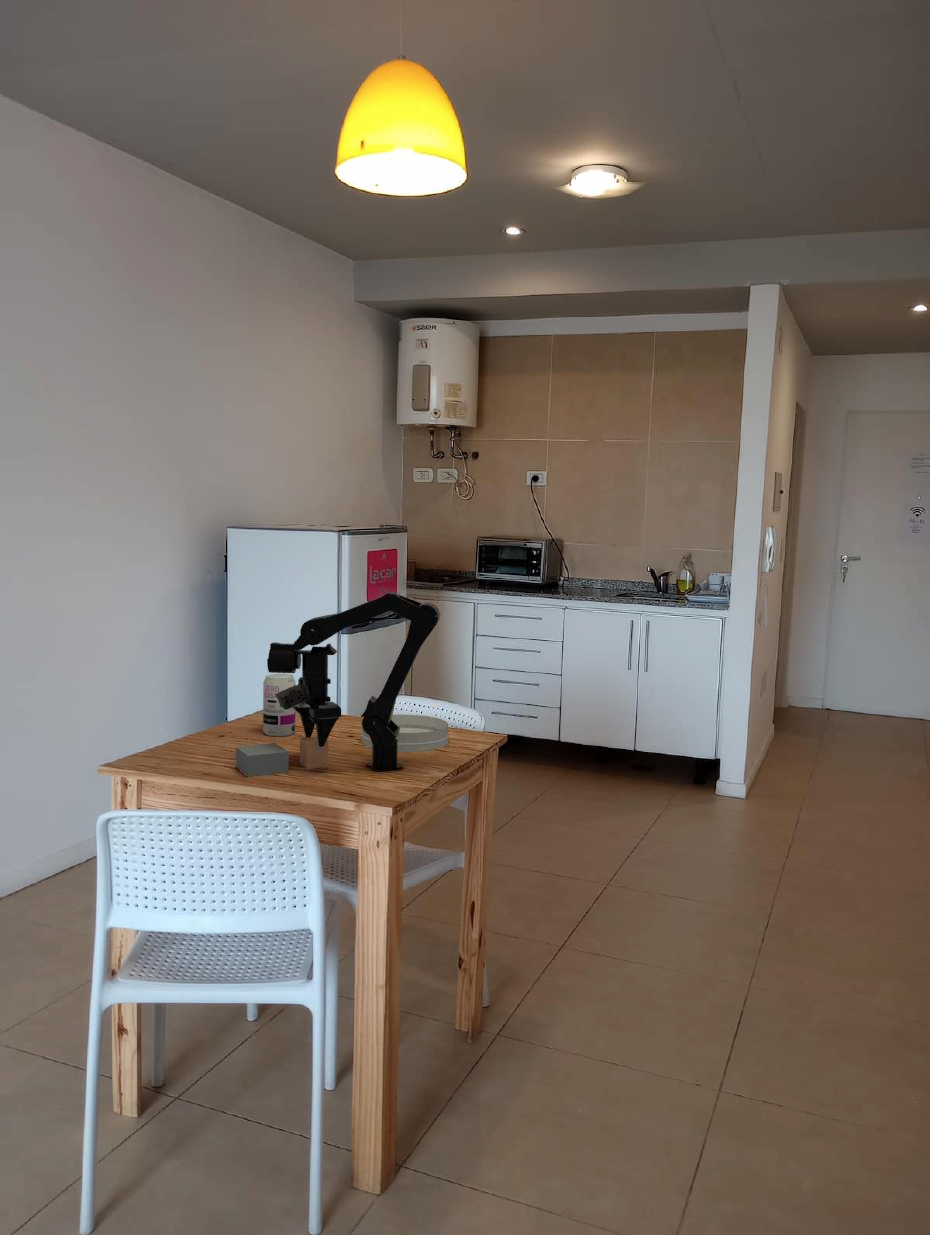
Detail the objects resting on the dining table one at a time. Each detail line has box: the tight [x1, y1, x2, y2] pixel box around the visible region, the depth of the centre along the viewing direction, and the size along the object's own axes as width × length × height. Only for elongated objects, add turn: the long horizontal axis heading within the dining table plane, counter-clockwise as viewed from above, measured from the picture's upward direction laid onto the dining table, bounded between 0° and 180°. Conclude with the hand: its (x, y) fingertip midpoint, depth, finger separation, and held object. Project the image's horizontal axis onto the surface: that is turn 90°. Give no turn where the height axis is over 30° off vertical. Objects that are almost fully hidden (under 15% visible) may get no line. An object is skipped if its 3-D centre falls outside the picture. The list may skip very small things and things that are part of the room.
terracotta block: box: [299, 736, 329, 770], centre depth 222 cm, size 5×5×6 cm
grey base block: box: [235, 742, 289, 778], centre depth 217 cm, size 9×9×5 cm
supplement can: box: [262, 673, 297, 737], centre depth 253 cm, size 8×8×15 cm
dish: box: [360, 714, 450, 753], centre depth 248 cm, size 22×22×5 cm
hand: (314, 742), depth 222 cm, fingers open, 9 cm apart
